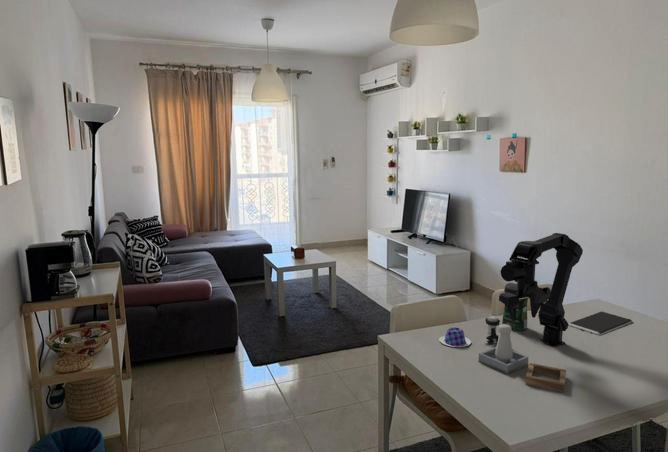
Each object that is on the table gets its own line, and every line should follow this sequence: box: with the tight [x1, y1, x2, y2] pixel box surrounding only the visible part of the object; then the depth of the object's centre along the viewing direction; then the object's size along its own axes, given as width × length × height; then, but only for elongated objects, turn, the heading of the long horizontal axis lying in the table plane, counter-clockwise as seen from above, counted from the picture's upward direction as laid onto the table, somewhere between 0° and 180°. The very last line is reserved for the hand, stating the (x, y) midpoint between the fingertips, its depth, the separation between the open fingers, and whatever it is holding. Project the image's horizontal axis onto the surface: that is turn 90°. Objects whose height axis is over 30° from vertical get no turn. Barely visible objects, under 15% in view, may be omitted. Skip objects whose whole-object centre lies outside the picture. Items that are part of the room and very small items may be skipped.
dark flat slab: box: [568, 310, 633, 336], centre depth 196 cm, size 13×27×2 cm, turn 122°
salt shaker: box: [495, 323, 513, 363], centre depth 159 cm, size 6×6×13 cm
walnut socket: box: [524, 362, 567, 393], centre depth 147 cm, size 11×11×2 cm
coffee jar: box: [501, 282, 529, 331], centre depth 191 cm, size 10×8×19 cm
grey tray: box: [478, 346, 529, 375], centre depth 160 cm, size 12×12×3 cm
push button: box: [483, 315, 501, 345], centre depth 177 cm, size 7×5×10 cm
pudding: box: [438, 326, 472, 348], centre depth 178 cm, size 12×12×5 cm
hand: (523, 319), depth 166 cm, fingers open, 9 cm apart
